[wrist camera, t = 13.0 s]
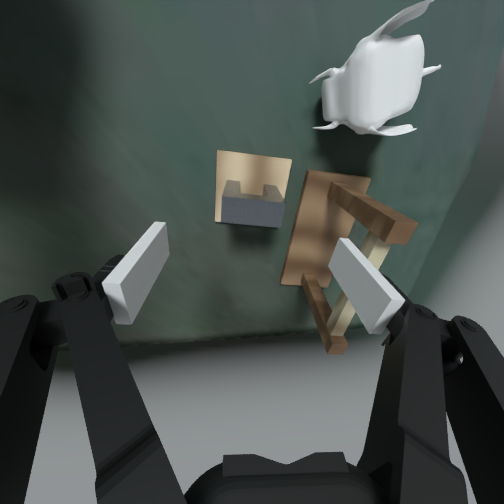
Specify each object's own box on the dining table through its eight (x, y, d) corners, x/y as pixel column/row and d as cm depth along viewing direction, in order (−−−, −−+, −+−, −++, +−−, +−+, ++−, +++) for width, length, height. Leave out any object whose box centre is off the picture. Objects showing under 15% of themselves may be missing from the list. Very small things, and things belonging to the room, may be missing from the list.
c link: (225, 200, 30) (220, 222, 23) (227, 179, 29) (221, 196, 22) (272, 205, 31) (280, 227, 24) (276, 185, 29) (286, 203, 22)
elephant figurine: (299, 58, 23) (326, 23, 15) (412, 20, 22) (503, -38, 14) (308, 150, 28) (333, 159, 20) (401, 124, 26) (464, 122, 19)
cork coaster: (215, 220, 32) (215, 221, 32) (217, 150, 27) (217, 150, 27) (277, 226, 33) (278, 227, 33) (291, 159, 28) (291, 160, 28)
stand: (325, 283, 40) (365, 359, 27) (280, 280, 39) (298, 357, 26) (366, 176, 30) (465, 216, 17) (306, 169, 29) (359, 204, 16)
